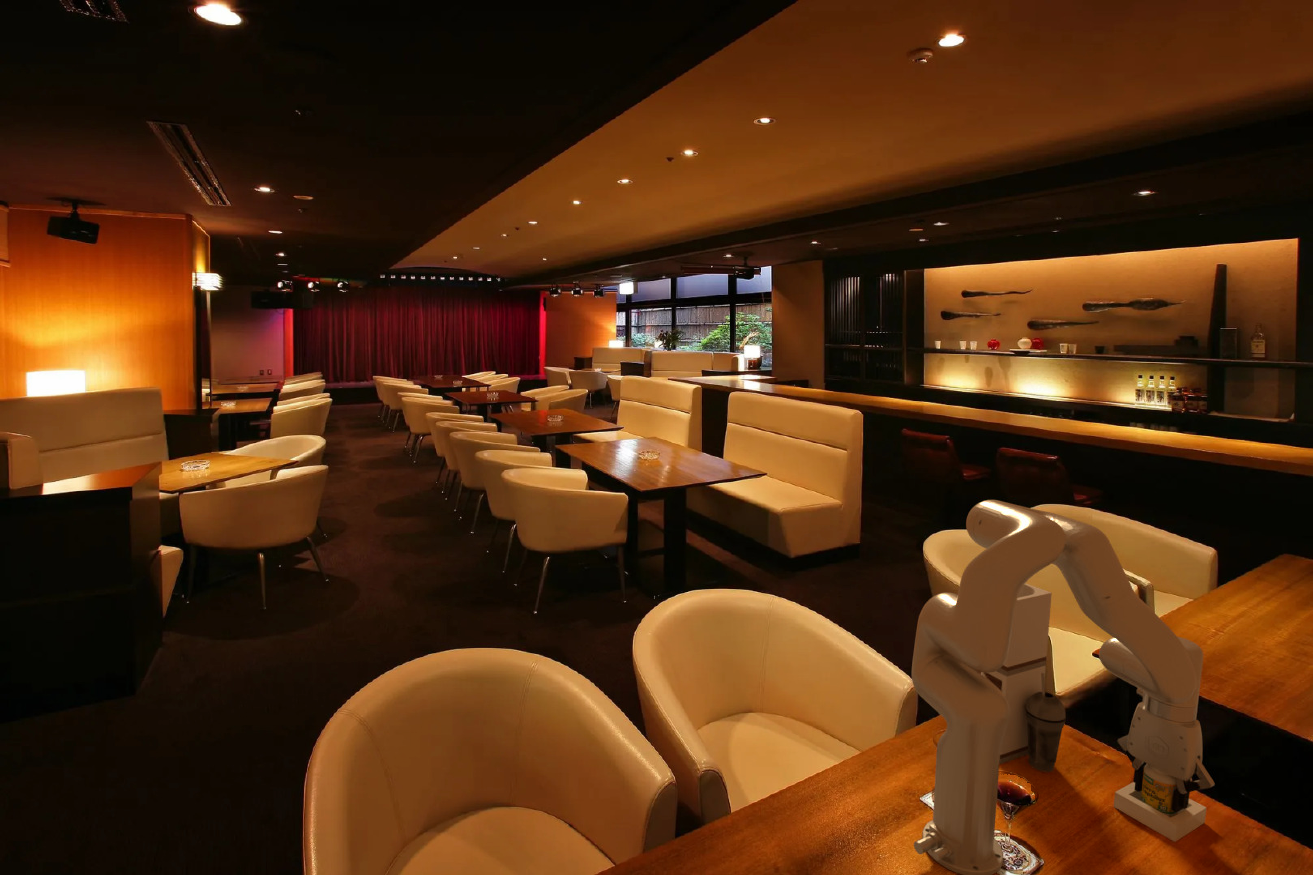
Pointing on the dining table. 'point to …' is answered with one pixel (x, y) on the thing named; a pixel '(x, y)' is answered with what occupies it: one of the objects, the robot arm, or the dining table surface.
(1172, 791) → the supplement bottle
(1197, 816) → the white rectangular hollow frame
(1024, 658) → the white notched pedestal
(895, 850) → the dining table surface
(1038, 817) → the dining table surface
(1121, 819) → the dining table surface
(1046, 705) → the beverage cup
